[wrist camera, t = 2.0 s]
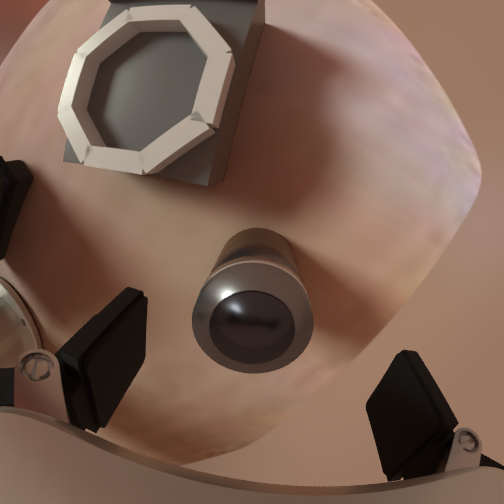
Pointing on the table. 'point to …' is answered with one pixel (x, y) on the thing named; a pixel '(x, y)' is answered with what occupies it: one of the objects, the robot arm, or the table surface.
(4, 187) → the black device
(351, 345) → the table surface
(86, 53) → the camera body
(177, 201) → the table surface
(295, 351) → the lens
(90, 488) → the robot arm
